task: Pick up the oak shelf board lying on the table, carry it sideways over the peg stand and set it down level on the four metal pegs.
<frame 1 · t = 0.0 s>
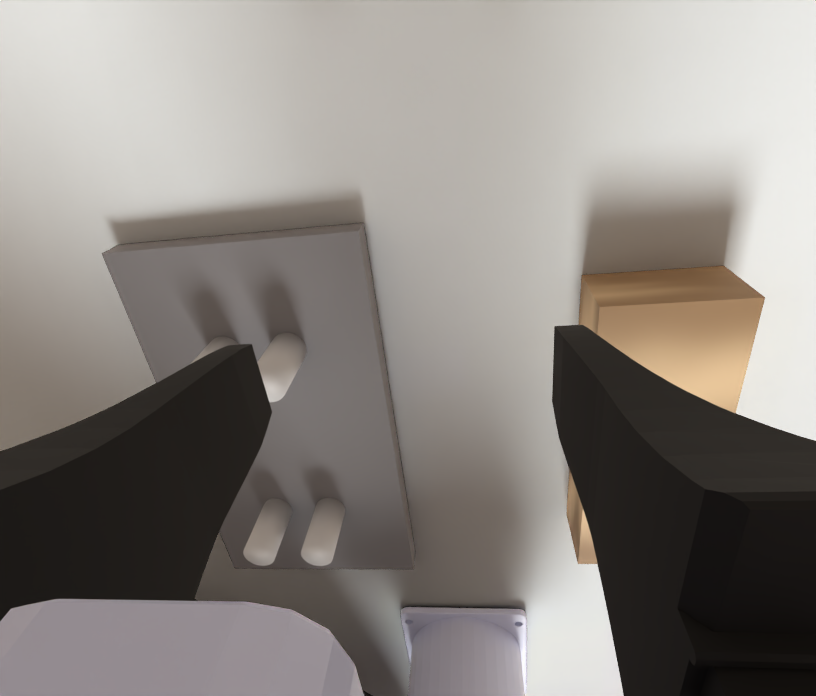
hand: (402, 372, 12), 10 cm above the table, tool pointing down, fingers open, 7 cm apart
shelf board: (630, 405, 24), on the table
peg stand: (290, 422, 26), on the table
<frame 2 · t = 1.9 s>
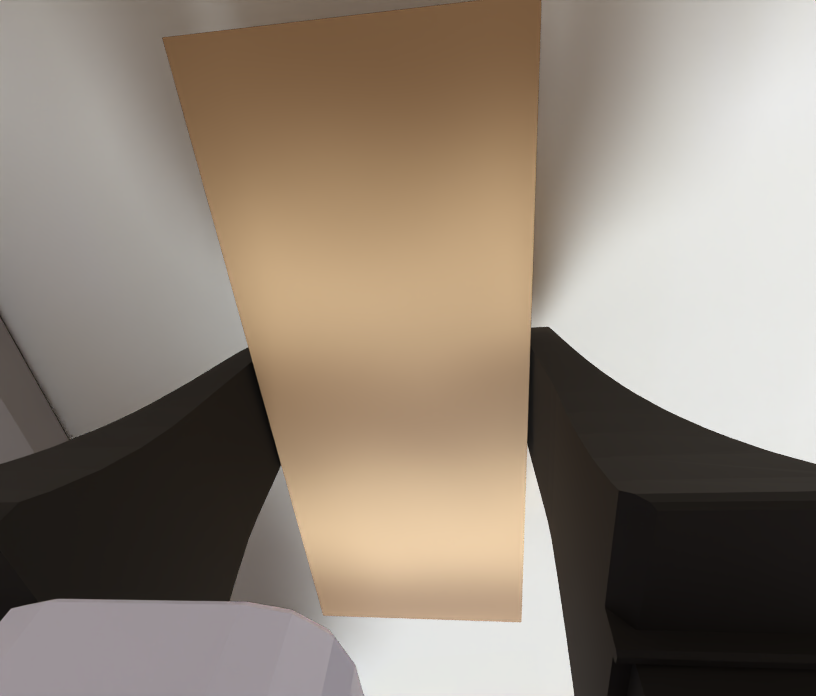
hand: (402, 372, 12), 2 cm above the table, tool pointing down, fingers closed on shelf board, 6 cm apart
shelf board: (408, 336, 14), on the table, touching gripper
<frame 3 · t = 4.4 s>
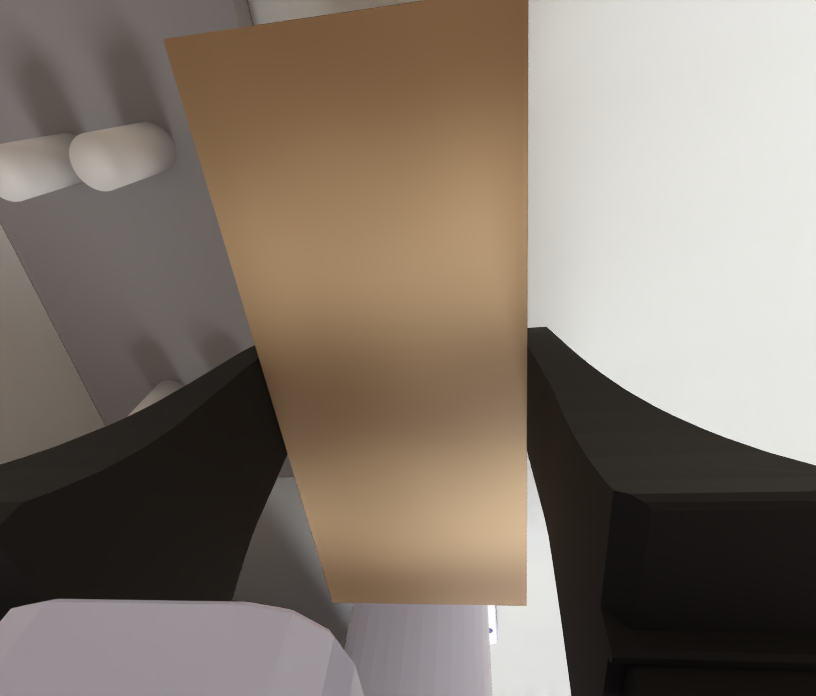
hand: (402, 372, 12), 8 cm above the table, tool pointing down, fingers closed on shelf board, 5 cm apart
shelf board: (410, 327, 14), point 6 cm above the table, touching gripper
peg stand: (179, 276, 21), on the table
when the fingers open (7 cm above the table, at t = 6.2 s): shelf board stays where it is, resting on peg stand.
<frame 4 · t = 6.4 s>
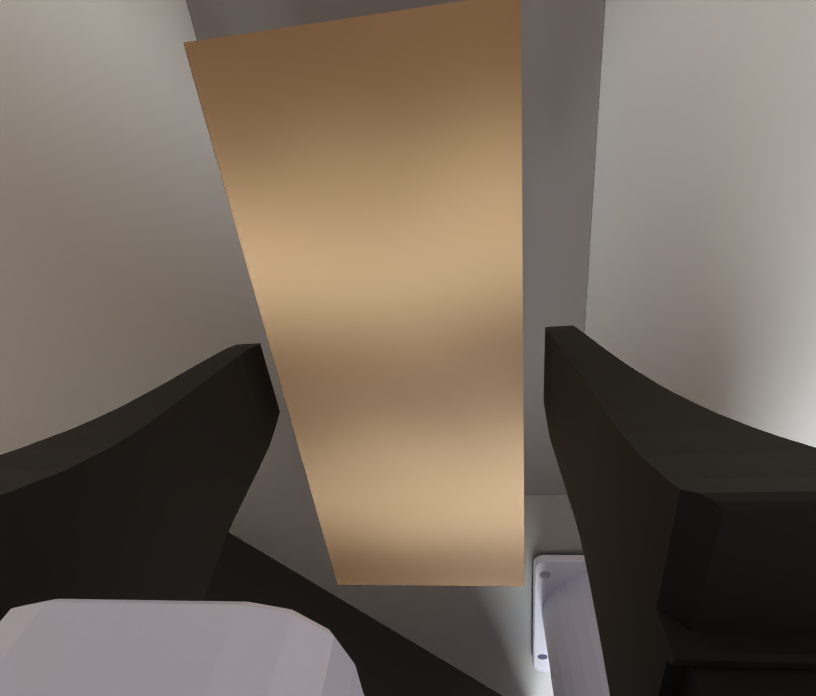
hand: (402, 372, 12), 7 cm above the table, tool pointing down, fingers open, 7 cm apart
shelf board: (412, 318, 14), point 4 cm above the table, touching peg stand
binder: (301, 650, 31), on the table
peg stand: (422, 268, 18), on the table
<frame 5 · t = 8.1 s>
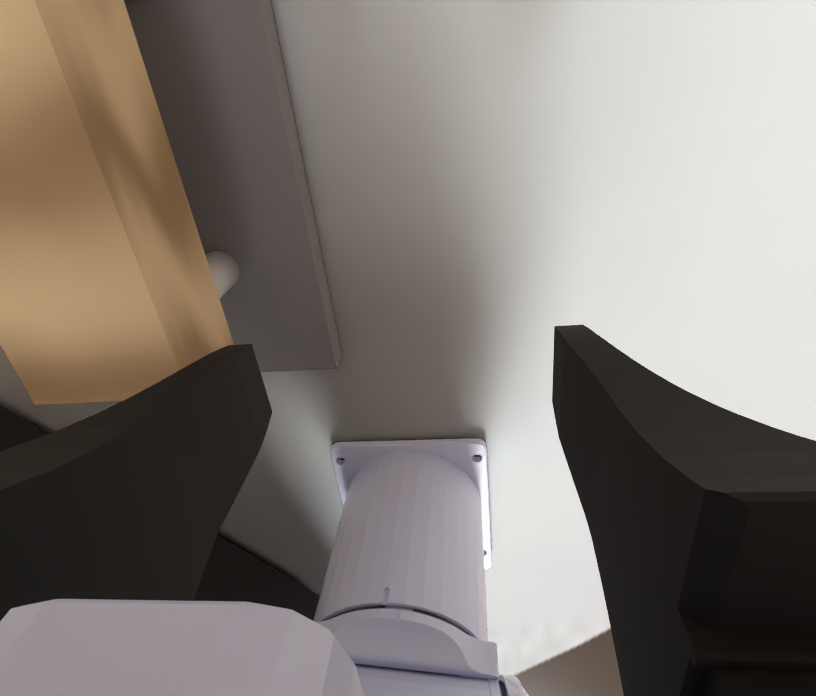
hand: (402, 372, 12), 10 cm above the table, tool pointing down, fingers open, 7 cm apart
shelf board: (89, 154, 16), point 4 cm above the table, touching peg stand
binder: (148, 561, 33), on the table
peg stand: (159, 139, 19), on the table
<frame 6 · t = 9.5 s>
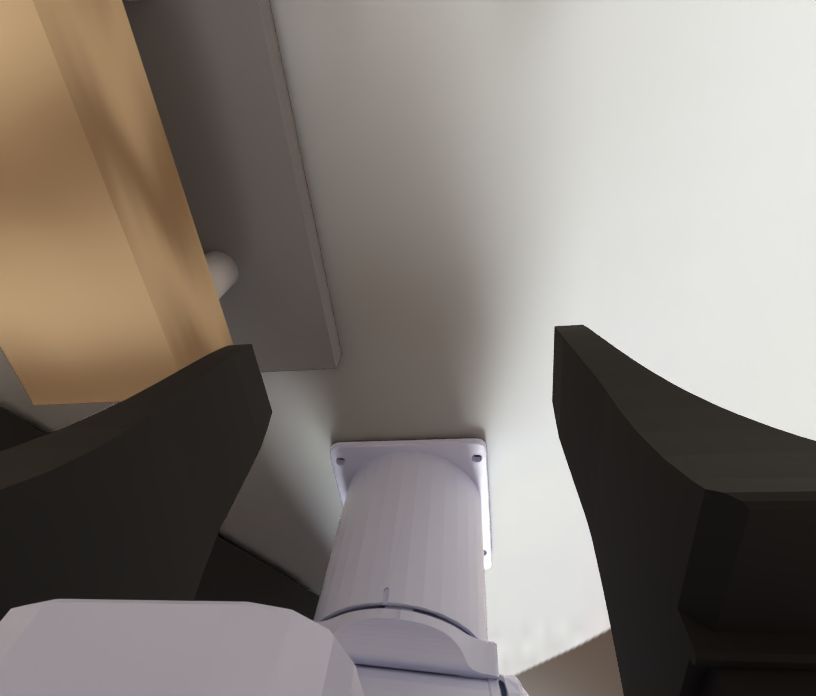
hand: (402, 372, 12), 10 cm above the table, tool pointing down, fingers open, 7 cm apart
shelf board: (88, 155, 16), point 4 cm above the table, touching peg stand
binder: (148, 561, 33), on the table, touching arm
peg stand: (158, 140, 19), on the table
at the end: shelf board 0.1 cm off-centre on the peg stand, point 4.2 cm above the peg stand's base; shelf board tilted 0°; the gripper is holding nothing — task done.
